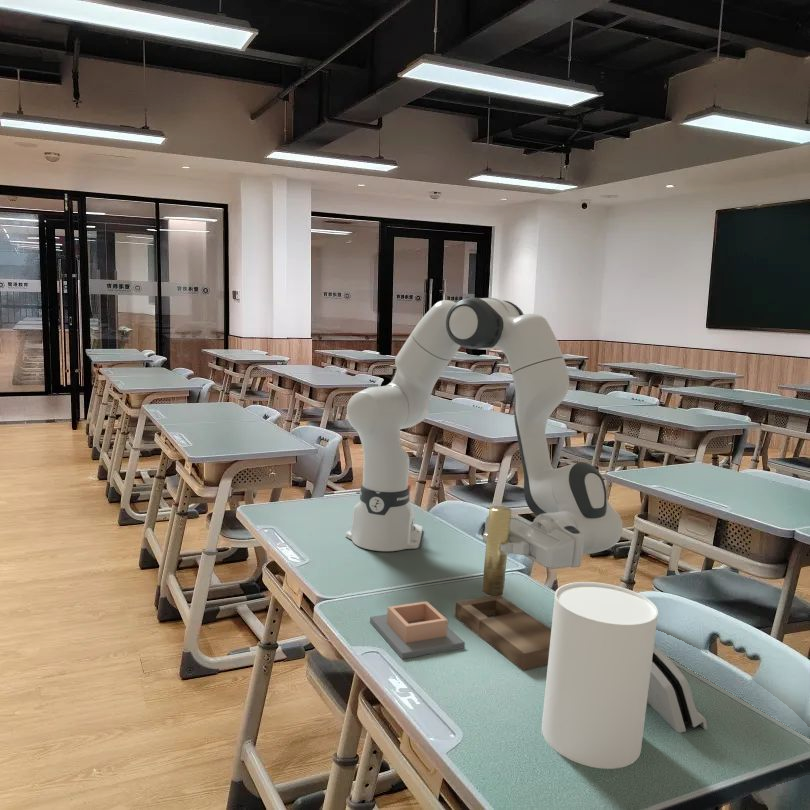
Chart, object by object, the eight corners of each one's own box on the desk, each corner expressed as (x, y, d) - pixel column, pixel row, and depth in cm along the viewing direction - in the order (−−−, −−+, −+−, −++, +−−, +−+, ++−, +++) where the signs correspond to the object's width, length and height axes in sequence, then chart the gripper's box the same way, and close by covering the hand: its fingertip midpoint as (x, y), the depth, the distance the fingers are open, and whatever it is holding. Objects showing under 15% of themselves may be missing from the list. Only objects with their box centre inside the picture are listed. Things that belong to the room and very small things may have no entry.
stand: (369, 622, 127) (371, 601, 126) (427, 613, 132) (429, 593, 131) (401, 658, 114) (403, 636, 114) (464, 647, 119) (466, 626, 119)
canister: (621, 710, 103) (636, 584, 101) (656, 770, 90) (675, 627, 87) (532, 706, 103) (544, 579, 100) (554, 766, 90) (569, 622, 87)
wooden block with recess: (454, 616, 131) (455, 601, 131) (497, 608, 136) (498, 594, 136) (522, 670, 113) (524, 653, 113) (569, 659, 118) (571, 642, 117)
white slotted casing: (709, 730, 100) (697, 671, 98) (681, 743, 99) (668, 684, 97) (644, 669, 116) (632, 618, 114) (619, 680, 115) (607, 628, 113)
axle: (484, 585, 131) (491, 504, 129) (504, 589, 130) (512, 508, 128) (480, 593, 127) (487, 510, 125) (501, 597, 126) (509, 514, 124)
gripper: (520, 504, 142) (464, 510, 135) (589, 537, 124) (529, 545, 118) (517, 533, 143) (461, 540, 136) (586, 570, 125) (525, 580, 119)
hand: (493, 543), depth 127 cm, fingers closed on axle, 4 cm apart
